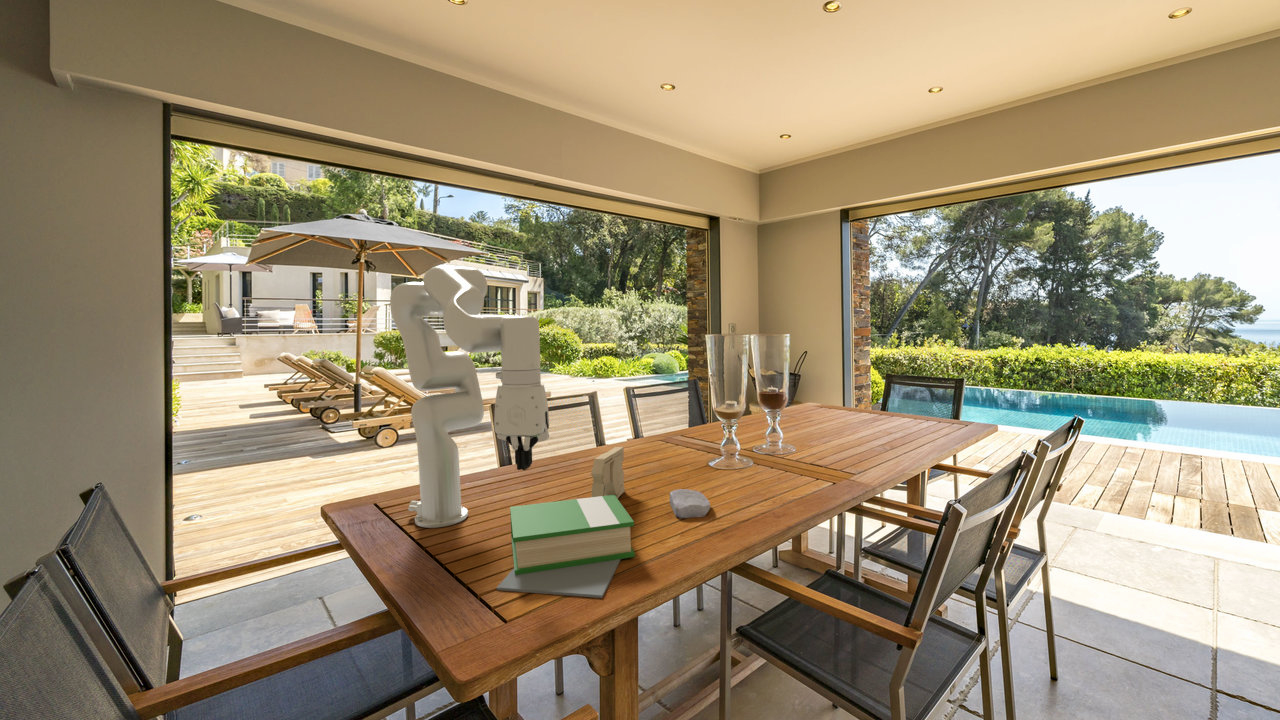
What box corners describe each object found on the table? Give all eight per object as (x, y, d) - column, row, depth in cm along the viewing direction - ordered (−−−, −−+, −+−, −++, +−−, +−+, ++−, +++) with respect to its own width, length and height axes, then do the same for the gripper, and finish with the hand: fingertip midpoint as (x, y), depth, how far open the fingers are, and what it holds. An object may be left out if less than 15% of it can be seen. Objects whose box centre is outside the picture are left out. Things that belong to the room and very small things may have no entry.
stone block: (701, 507, 140) (666, 502, 139) (705, 490, 139) (669, 485, 138) (712, 526, 128) (673, 520, 127) (716, 507, 128) (677, 502, 126)
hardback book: (514, 575, 99) (634, 556, 106) (513, 537, 99) (634, 521, 105) (511, 538, 116) (615, 525, 123) (510, 506, 116) (614, 494, 122)
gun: (602, 523, 125) (602, 461, 125) (589, 522, 126) (588, 461, 126) (625, 498, 149) (625, 446, 149) (614, 498, 150) (613, 446, 150)
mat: (496, 589, 95) (496, 587, 95) (541, 540, 116) (540, 537, 116) (602, 598, 91) (602, 595, 91) (627, 544, 113) (627, 542, 113)
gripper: (477, 379, 100) (480, 472, 102) (550, 381, 98) (552, 475, 99) (495, 375, 108) (497, 461, 109) (563, 376, 105) (565, 464, 107)
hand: (523, 468), depth 104 cm, fingers closed
